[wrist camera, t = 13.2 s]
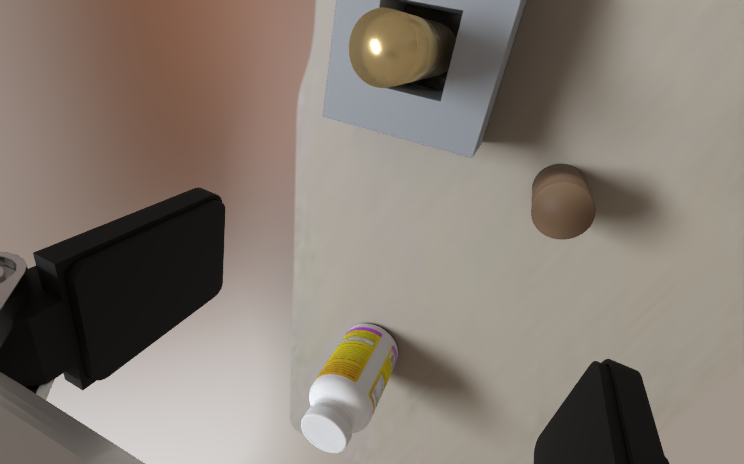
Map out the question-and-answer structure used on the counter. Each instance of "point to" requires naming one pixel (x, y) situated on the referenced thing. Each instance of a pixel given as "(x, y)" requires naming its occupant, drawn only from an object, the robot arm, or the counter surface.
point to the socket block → (419, 103)
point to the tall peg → (399, 48)
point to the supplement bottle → (349, 387)
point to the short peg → (561, 202)
